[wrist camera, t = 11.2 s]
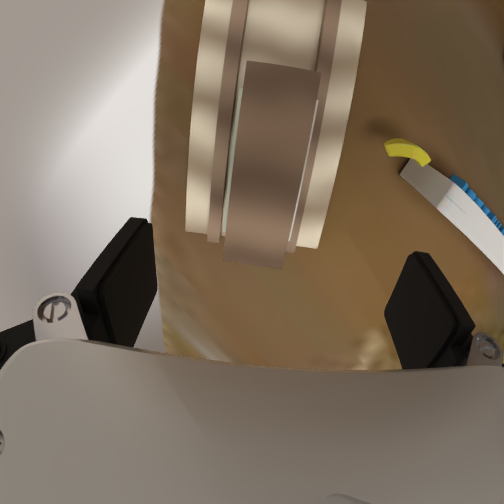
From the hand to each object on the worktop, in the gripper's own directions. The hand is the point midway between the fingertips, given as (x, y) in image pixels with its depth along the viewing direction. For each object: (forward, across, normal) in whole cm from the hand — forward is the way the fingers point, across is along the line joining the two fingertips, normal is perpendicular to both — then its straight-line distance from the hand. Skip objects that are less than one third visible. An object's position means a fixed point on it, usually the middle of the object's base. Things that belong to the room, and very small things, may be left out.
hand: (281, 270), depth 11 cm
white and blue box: (+21, -24, +3) cm, 32 cm away
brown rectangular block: (+19, +1, 0) cm, 19 cm away
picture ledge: (+20, +1, -3) cm, 21 cm away
